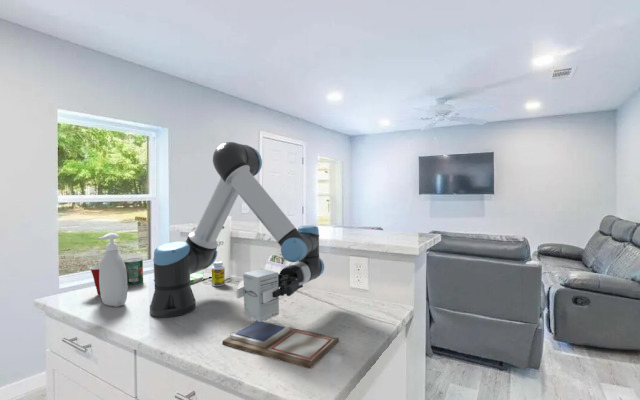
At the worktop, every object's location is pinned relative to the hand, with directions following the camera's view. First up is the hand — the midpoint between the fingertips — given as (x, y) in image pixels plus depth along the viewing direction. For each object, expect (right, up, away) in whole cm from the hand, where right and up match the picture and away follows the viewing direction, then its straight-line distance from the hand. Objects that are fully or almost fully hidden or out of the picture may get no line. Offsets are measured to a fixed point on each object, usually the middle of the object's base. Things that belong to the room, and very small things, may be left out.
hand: (250, 295), depth 94 cm
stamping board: (+8, -14, +1) cm, 16 cm away
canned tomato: (-65, -12, +61) cm, 90 cm away
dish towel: (-44, -12, +68) cm, 82 cm away
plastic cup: (-69, -13, +47) cm, 85 cm away
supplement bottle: (-26, -12, +58) cm, 65 cm away
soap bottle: (-59, -13, +34) cm, 69 cm away
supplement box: (+2, -7, +4) cm, 9 cm away
